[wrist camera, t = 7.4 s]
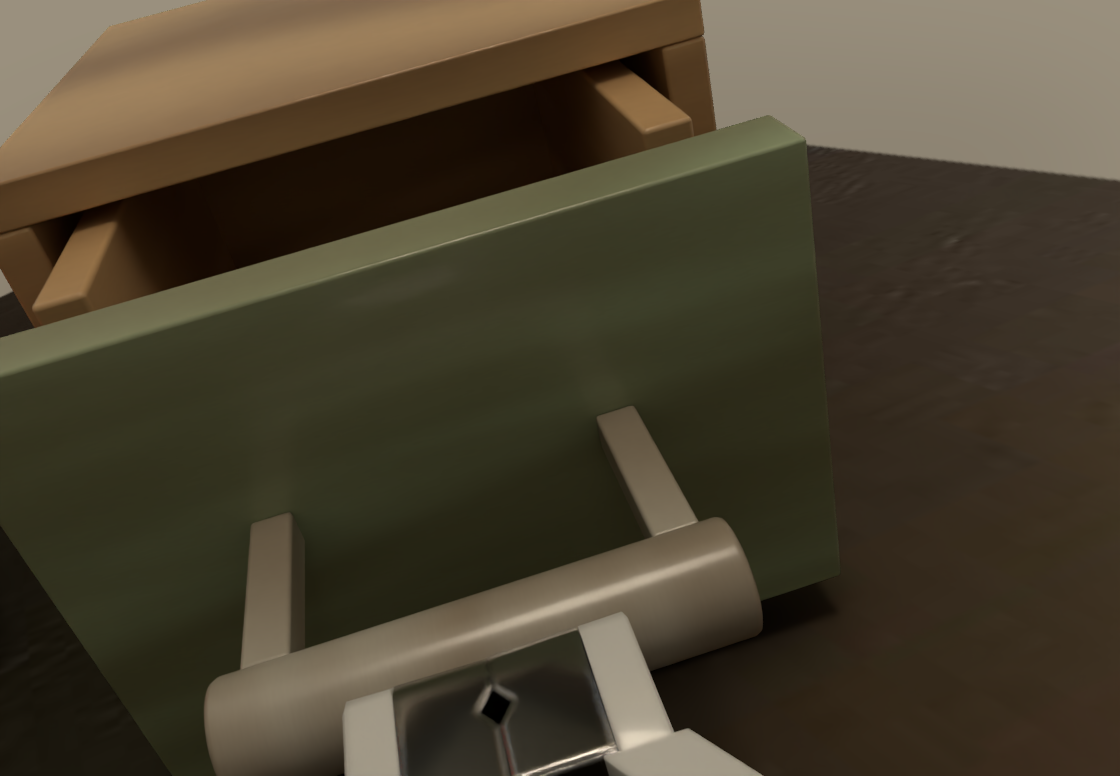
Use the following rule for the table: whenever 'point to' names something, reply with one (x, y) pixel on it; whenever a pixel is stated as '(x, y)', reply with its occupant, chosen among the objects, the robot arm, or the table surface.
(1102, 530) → the table surface
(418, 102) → the cabinet
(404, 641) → the drawer
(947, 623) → the table surface
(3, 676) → the table surface
